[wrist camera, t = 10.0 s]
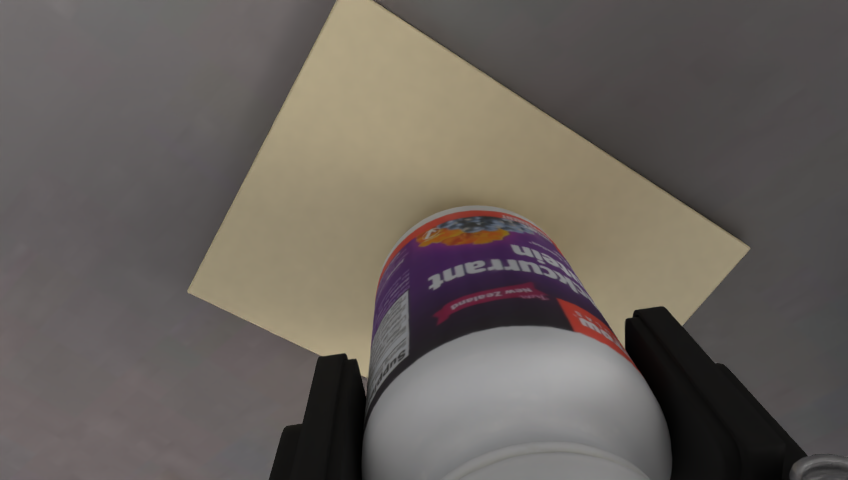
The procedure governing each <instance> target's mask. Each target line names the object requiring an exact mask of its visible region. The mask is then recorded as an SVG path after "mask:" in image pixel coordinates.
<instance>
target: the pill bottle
mask: <svg viewBox="0 0 848 480" xmlns="http://www.w3.org/2000/svg"><path fill="white" fill-rule="evenodd" d="M671 471H672V450H671V439H670V434H669V430H668V425H667V422H666V420H665V417H664V414H663V411H662V409H661V407H660V405H659V403H658V401H657V399H656V398H655V396H654V394H653V392H652V391H651V389H650V387H649V385H648V384H647V382H646V380H645V379H644V377H643V375H642V374H641V372H640V371H639V370H638V368H637V367H636V366H635V364H634V362H633V361H632V360H631V358H630V356H629V355H628V353H627V352H626V350H625V349H624V347H623V346H622V344H621V343H620V341H619V340H618V338H617V337H616V335H615V334H614V332H613V330H612V329H611V327H610V326H609V324H608V323H607V321H606V320H605V318H604V317H603V315H602V313H601V312H600V311H599V309H598V308H597V306H596V305H595V303H594V302H593V300H592V298H591V297H590V295H589V294H588V293H587V291H586V290H585V288H584V286H583V285H582V283H581V281H580V280H579V279H578V277H577V276H576V274H575V273H574V271H573V269H572V268H571V266H570V264H569V263H568V261H567V260H566V258H565V257H564V255H563V254H562V252H561V251H560V249H559V248H558V247H557V245H556V244H555V243H554V242H553V241H552V239H551V238H550V237H549V236H548V235H547V234H546V233H545V232H544V231H543V230H542V229H541V228H540V227H538V226H537V225H536V224H535V223H533V222H532V221H530V220H528V219H527V218H525V217H523V216H521V215H519V214H517V213H514V212H512V211H509V210H506V209H502V208H498V207H492V206H479V205H473V206H462V207H455V208H451V209H447V210H444V211H441V212H438V213H435V214H433V215H431V216H429V217H427V218H425V219H423V220H422V221H420V222H419V223H417V224H416V225H414V226H413V227H412V228H410V229H409V230H408V231H407V232H406V233H405V234H404V235H403V236H402V237H401V238H400V239H399V240H398V241H397V243H396V244H395V245H394V247H393V248H392V249H391V251H390V253H389V254H388V256H387V258H386V260H385V262H384V264H383V266H382V270H381V273H380V276H379V280H378V286H377V291H376V298H375V310H374V319H373V330H372V340H371V350H370V362H369V373H368V385H367V395H366V408H365V417H364V427H363V437H362V460H361V473H362V480H670V477H671Z"/></svg>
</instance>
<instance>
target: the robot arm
mask: <svg viewBox="0 0 848 480" xmlns="http://www.w3.org/2000/svg"><path fill="white" fill-rule="evenodd" d="M625 350H626V352H627V353H628V355H629V356H630V358H631V360H632V361H633V362H634V364H635V366H636V367H637V368H638V370H639V371H640V372H641V374H642V375H643V377H644V379H645V380H646V382H647V384H648V385H649V387H650V389H651V391H652V392H653V394H654V396H655V398H656V399H657V401H658V403H659V405H660V407H661V409H662V411H663V414H664V417H665V420H666V422H667V425H668V430H669V434H670V439H671V450H672V471H671V477H670V480H848V457H844V456H838V455H832V454H814V455H811V456H807V454H806V453H805V452H804V451H803V450H802V449H801V448H800V447H799V446H798V445H797V443H796V442H795V441H794V440H793V439H792V438H791V437H790V436H789V435H788V434H787V432H786V431H785V430H784V429H783V428H782V427H781V426H780V425H779V424H778V423H777V421H776V420H775V419H774V418H773V417H772V416H771V415H770V414H769V413H768V412H767V410H766V409H765V408H764V407H763V406H762V405H761V404H760V403H759V402H758V401H757V399H756V398H755V397H754V396H753V395H752V394H751V393H750V392H749V391H748V390H747V388H746V387H745V386H744V385H743V384H742V383H741V382H740V381H739V380H738V378H737V377H736V376H735V375H734V374H733V373H732V372H731V371H730V370H729V369H728V368H727V367H726V366H725V365H723V364H720V363H716V364H715V363H714V362H713V361H712V360H711V359H710V357H709V356H708V355H707V354H706V353H705V352H704V351H703V349H702V348H701V347H700V346H699V345H698V344H697V343H696V342H695V340H694V339H693V338H692V337H691V336H690V335H689V334H688V332H687V331H686V330H685V329H684V328H683V327H682V326H681V325H680V323H679V322H678V321H677V320H676V319H675V318H674V317H673V316H672V314H671V313H670V312H669V311H668V310H667V309H666V308H665V307H664V306H659V307H652V308H645V309H638V310H635V311H634V313H633V317H632V318H627V319H626V320H625ZM365 408H366V396H365V391H364V387H363V383H362V378H361V374H360V370H359V365H358V362H357V359H356V358H355V359H348V357H347V355H346V354H345V353H341V354H335V355H328V356H321V357H319V358H318V360H317V364H316V368H315V373H314V377H313V381H312V385H311V390H310V394H309V398H308V402H307V407H306V411H305V415H304V419H303V424H297V425H290V426H286V427H285V428H284V430H283V432H282V435H281V438H280V442H279V445H278V449H277V453H276V456H275V460H274V463H273V467H272V471H271V474H270V478H269V480H362V473H361V460H362V437H363V427H364V417H365Z"/></svg>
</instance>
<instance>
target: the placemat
mask: <svg viewBox="0 0 848 480" xmlns="http://www.w3.org/2000/svg"><path fill="white" fill-rule="evenodd" d="M473 205H479V206H492V207H498V208H502V209H506V210H509V211H512V212H514V213H517V214H519V215H521V216H523V217H525V218H527V219H528V220H530V221H532V222H533V223H535V224H536V225H537V226H538V227H540V228H541V229H542V230H543V231H544V232H545V233H546V234H547V235H548V236H549V237H550V238H551V239H552V241H553V242H554V243H555V244H556V245H557V247H558V248H559V249H560V251H561V252H562V254H563V255H564V257H565V258H566V260H567V261H568V263H569V264H570V266H571V268H572V269H573V271H574V273H575V274H576V276H577V277H578V279H579V280H580V281H581V283H582V285H583V286H584V288H585V290H586V291H587V293H588V294H589V295H590V297H591V298H592V300H593V302H594V303H595V305H596V306H597V308H598V309H599V311H600V312H601V313H602V315H603V317H604V318H605V320H606V321H607V323H608V324H609V326H610V327H611V329H612V330H613V332H614V334H615V335H616V337H617V338H618V340H619V341H620V343H621V344H622V346H623V347H624V349H625V320H626V319H627V318H632V317H633V313H634V311H635V310H638V309H645V308H652V307H659V306H664V307H665V308H666V309H667V310H668V311H669V312H670V313H671V314H672V316H673V317H674V318H675V319H676V320H677V321H678V322H679V323H680V325H681V326H683V324H684V323H685V322H686V321H687V320H688V319H689V318H690V317H691V315H692V314H693V313H694V312H695V311H696V310H697V309H698V307H699V306H700V305H701V304H702V303H703V302H704V301H705V300H706V298H707V297H708V296H709V295H710V294H711V293H712V292H713V291H714V289H715V288H716V287H717V286H718V285H719V284H720V283H721V282H722V280H723V279H724V278H725V277H726V276H727V275H728V274H729V273H730V271H731V270H732V269H733V268H734V267H735V266H736V265H737V264H738V262H739V261H740V260H741V259H742V258H743V257H744V256H745V254H746V253H747V252H748V251H749V250H750V247H749V246H748V245H746V244H745V243H743V242H742V241H741V240H739V239H737V238H736V237H734V236H733V235H731V234H730V233H728V232H727V231H725V230H724V229H722V228H721V227H719V226H718V225H716V224H714V223H713V222H711V221H710V220H708V219H707V218H705V217H704V216H702V215H701V214H699V213H698V212H696V211H695V210H693V209H691V208H690V207H688V206H687V205H685V204H684V203H682V202H681V201H679V200H678V199H676V198H675V197H673V196H672V195H670V194H669V193H667V192H665V191H664V190H662V189H661V188H659V187H658V186H656V185H655V184H653V183H652V182H650V181H649V180H647V179H646V178H644V177H642V176H641V175H639V174H638V173H636V172H635V171H633V170H632V169H630V168H629V167H627V166H626V165H624V164H623V163H621V162H619V161H618V160H616V159H615V158H613V157H612V156H610V155H609V154H607V153H606V152H604V151H603V150H601V149H600V148H598V147H597V146H595V145H593V144H592V143H590V142H589V141H587V140H586V139H584V138H583V137H581V136H580V135H578V134H577V133H575V132H574V131H572V130H570V129H569V128H567V127H566V126H564V125H563V124H561V123H560V122H558V121H557V120H555V119H554V118H552V117H551V116H549V115H547V114H546V113H544V112H543V111H541V110H540V109H538V108H537V107H535V106H534V105H532V104H531V103H529V102H528V101H526V100H525V99H523V98H521V97H520V96H518V95H517V94H515V93H514V92H512V91H511V90H509V89H508V88H506V87H505V86H503V85H502V84H500V83H498V82H497V81H495V80H494V79H492V78H491V77H489V76H488V75H486V74H485V73H483V72H482V71H480V70H479V69H477V68H475V67H474V66H472V65H471V64H469V63H468V62H466V61H465V60H463V59H462V58H460V57H459V56H457V55H456V54H454V53H453V52H451V51H449V50H448V49H446V48H445V47H443V46H442V45H440V44H439V43H437V42H436V41H434V40H433V39H431V38H430V37H428V36H426V35H425V34H423V33H422V32H420V31H419V30H417V29H416V28H414V27H413V26H411V25H410V24H408V23H407V22H405V21H403V20H402V19H400V18H399V17H397V16H396V15H394V14H393V13H391V12H390V11H388V10H387V9H385V8H384V7H382V6H381V5H379V4H377V3H376V2H374V1H373V0H337V1H336V3H335V5H334V6H333V8H332V10H331V12H330V14H329V16H328V18H327V20H326V22H325V24H324V26H323V28H322V30H321V32H320V34H319V36H318V38H317V40H316V41H315V43H314V45H313V47H312V49H311V51H310V53H309V55H308V57H307V59H306V61H305V63H304V65H303V67H302V69H301V71H300V73H299V75H298V76H297V78H296V80H295V82H294V84H293V86H292V88H291V90H290V92H289V94H288V96H287V98H286V100H285V102H284V104H283V106H282V108H281V110H280V111H279V113H278V115H277V117H276V119H275V121H274V123H273V125H272V127H271V129H270V131H269V133H268V135H267V137H266V139H265V141H264V143H263V145H262V146H261V148H260V150H259V152H258V154H257V156H256V158H255V160H254V162H253V164H252V166H251V168H250V170H249V172H248V174H247V176H246V178H245V180H244V181H243V183H242V185H241V187H240V189H239V191H238V193H237V195H236V197H235V199H234V201H233V203H232V205H231V207H230V209H229V211H228V213H227V215H226V216H225V218H224V220H223V222H222V224H221V226H220V228H219V230H218V232H217V234H216V236H215V238H214V240H213V242H212V244H211V246H210V248H209V250H208V251H207V253H206V255H205V257H204V259H203V261H202V263H201V265H200V267H199V269H198V271H197V273H196V275H195V277H194V279H193V281H192V283H191V285H190V286H189V288H188V293H190V294H192V295H194V296H196V297H198V298H200V299H202V300H205V301H207V302H209V303H211V304H213V305H215V306H217V307H219V308H221V309H223V310H226V311H228V312H230V313H232V314H234V315H236V316H238V317H240V318H242V319H244V320H246V321H249V322H251V323H253V324H255V325H257V326H259V327H261V328H263V329H265V330H267V331H270V332H272V333H274V334H276V335H278V336H280V337H282V338H284V339H286V340H288V341H291V342H293V343H295V344H297V345H299V346H301V347H303V348H305V349H307V350H309V351H311V352H314V353H316V354H318V355H320V356H328V355H335V354H341V353H345V354H346V355H347V357H348V359H355V358H356V359H357V362H358V365H359V370H360V374H361V375H362V376H364V377H366V378H368V373H369V362H370V350H371V340H372V330H373V319H374V310H375V298H376V291H377V286H378V280H379V276H380V273H381V270H382V266H383V264H384V262H385V260H386V258H387V256H388V254H389V253H390V251H391V249H392V248H393V247H394V245H395V244H396V243H397V241H398V240H399V239H400V238H401V237H402V236H403V235H404V234H405V233H406V232H407V231H408V230H409V229H410V228H412V227H413V226H414V225H416V224H417V223H419V222H420V221H422V220H423V219H425V218H427V217H429V216H431V215H433V214H435V213H438V212H441V211H444V210H447V209H451V208H455V207H462V206H473Z"/></svg>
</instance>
